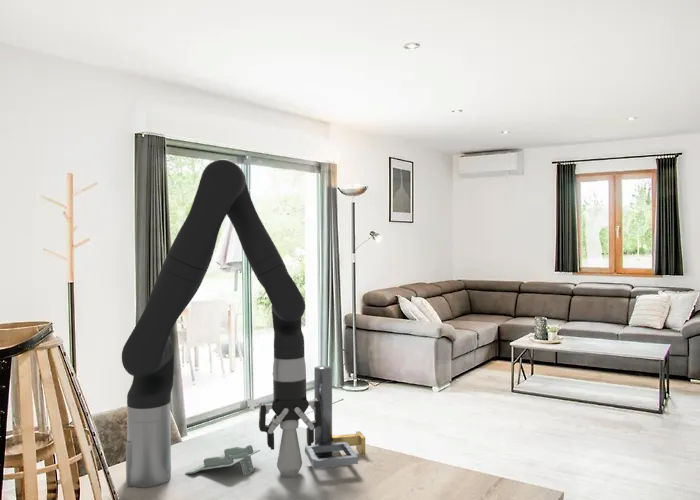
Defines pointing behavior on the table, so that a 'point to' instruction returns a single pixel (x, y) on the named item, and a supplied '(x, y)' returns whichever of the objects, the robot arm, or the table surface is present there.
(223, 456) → the metal bracket
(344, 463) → the square post stand
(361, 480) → the table surface
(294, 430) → the salt shaker
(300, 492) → the table surface
